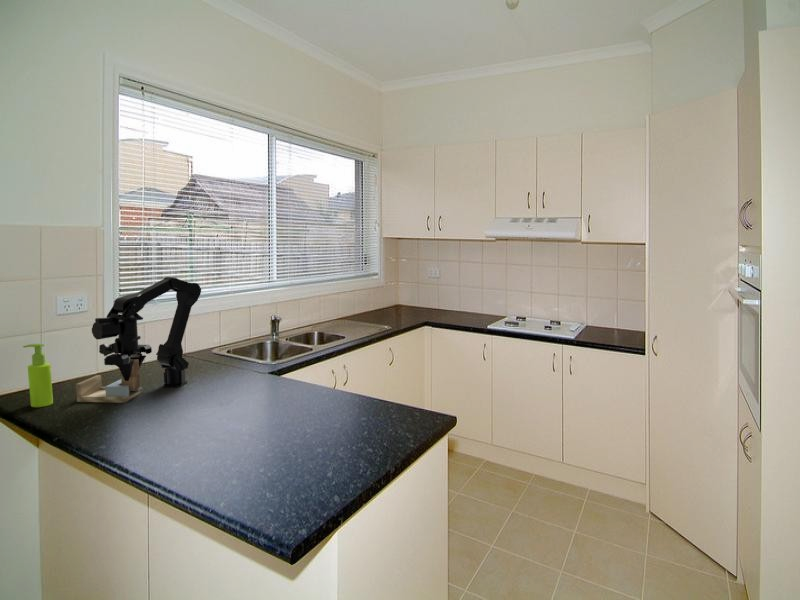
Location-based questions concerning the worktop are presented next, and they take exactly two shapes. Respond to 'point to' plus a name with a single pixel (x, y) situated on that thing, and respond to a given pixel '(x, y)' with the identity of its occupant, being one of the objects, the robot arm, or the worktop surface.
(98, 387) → the shallow wooden tray
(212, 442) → the worktop surface
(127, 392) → the block
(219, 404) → the worktop surface
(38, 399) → the soap dispenser
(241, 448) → the worktop surface
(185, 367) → the robot arm
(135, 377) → the wooden post
